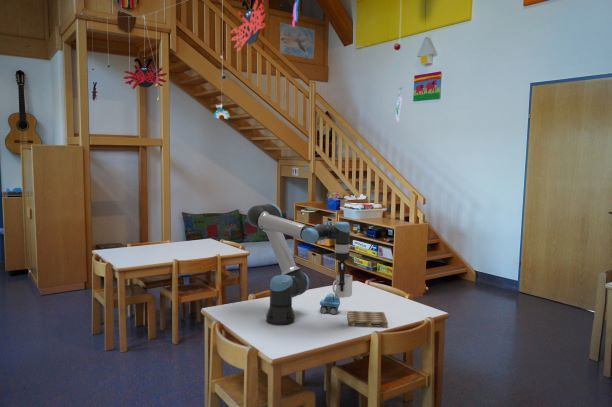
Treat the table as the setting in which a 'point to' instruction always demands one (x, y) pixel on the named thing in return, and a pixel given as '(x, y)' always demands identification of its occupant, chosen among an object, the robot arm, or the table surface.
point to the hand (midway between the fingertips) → (341, 294)
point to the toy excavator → (330, 303)
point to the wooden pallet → (367, 318)
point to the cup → (347, 285)
